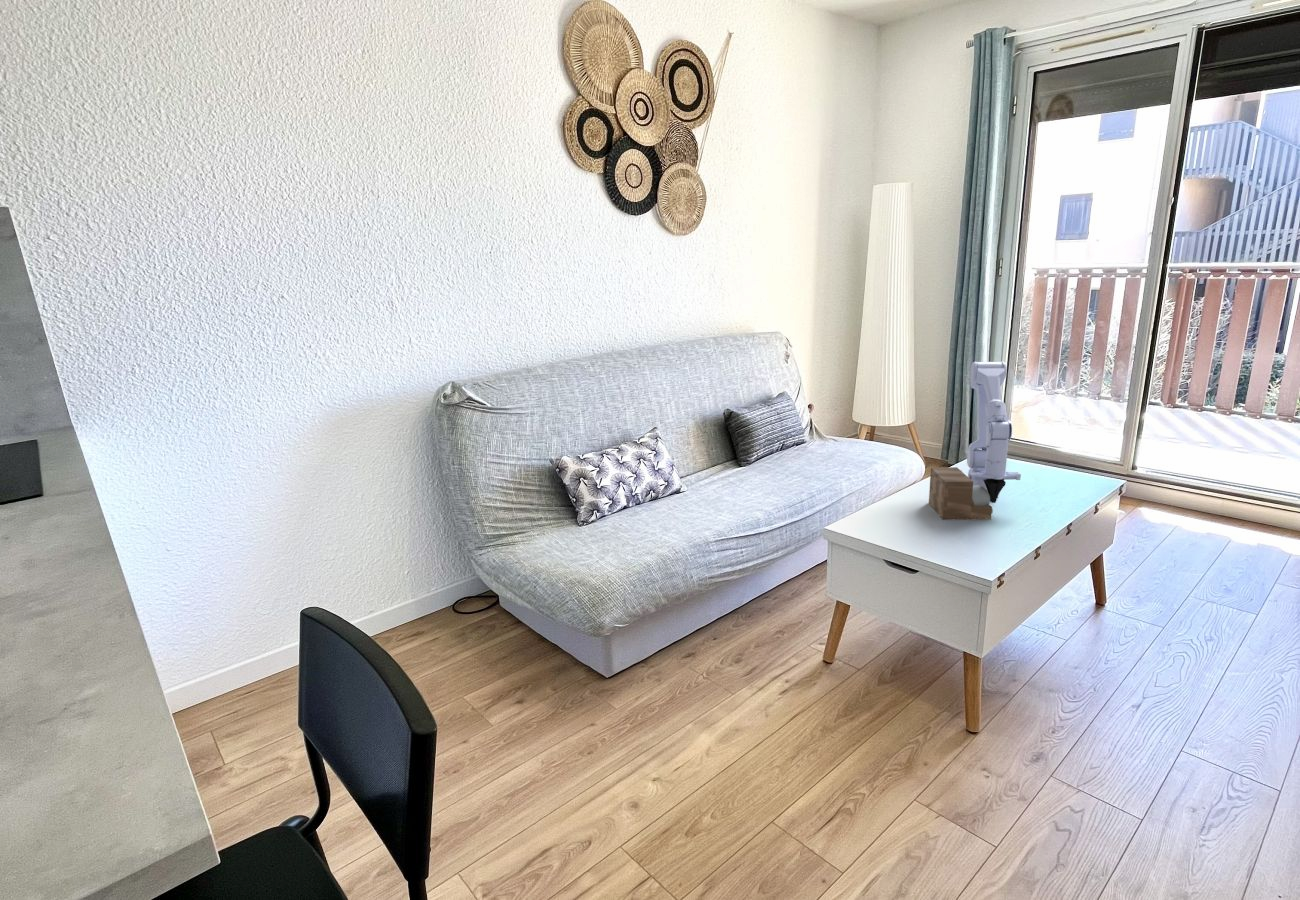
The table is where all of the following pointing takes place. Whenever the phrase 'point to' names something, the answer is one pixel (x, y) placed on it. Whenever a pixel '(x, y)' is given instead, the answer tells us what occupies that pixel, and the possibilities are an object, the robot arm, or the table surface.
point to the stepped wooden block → (954, 495)
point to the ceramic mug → (980, 496)
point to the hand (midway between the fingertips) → (992, 501)
